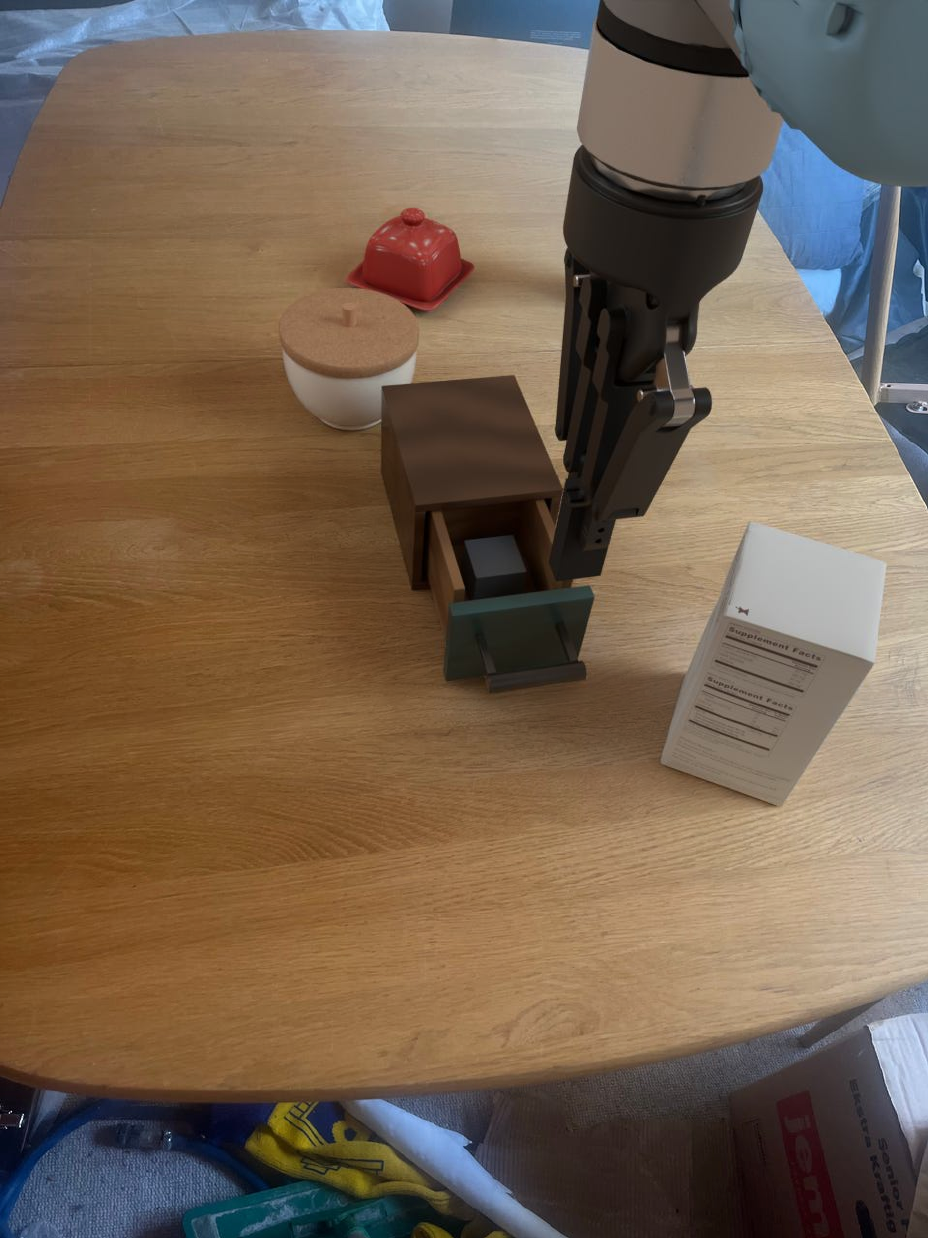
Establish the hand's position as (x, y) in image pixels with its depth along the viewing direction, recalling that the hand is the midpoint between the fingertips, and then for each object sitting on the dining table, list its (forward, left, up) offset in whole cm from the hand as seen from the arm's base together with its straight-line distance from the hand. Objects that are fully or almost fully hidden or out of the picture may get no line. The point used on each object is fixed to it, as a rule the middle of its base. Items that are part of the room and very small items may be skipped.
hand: (574, 569), depth 55 cm
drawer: (+10, 0, -18) cm, 21 cm away
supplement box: (-2, -15, -19) cm, 25 cm away
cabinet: (+24, 0, -19) cm, 30 cm away
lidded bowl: (+41, +7, -19) cm, 45 cm away
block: (+14, 0, -17) cm, 22 cm away
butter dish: (+62, -3, -19) cm, 65 cm away
